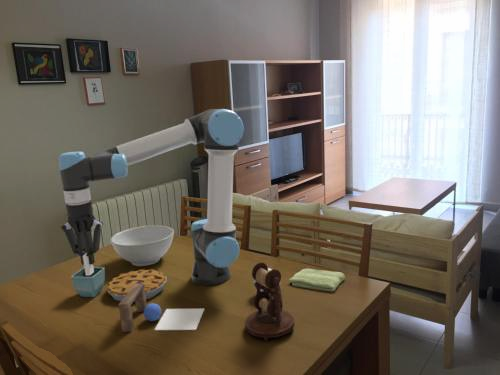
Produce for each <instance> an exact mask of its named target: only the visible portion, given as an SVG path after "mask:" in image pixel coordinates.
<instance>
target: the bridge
mask: <svg viewBox="0 0 500 375" xmlns="http://www.w3.org/2000/svg"><path fill="white" fill-rule="evenodd" d="M134 300H135V301H134ZM134 302H135V303H134ZM133 303H134V304H135V308H136V312H138V313H139V312H140V313H142V312H143V313H144V309H145V308H146V306H147V305H148V304H147V303H148V302H147V299H146V295H145V287H144V284H135V285H134V286H133V287H132V289H131V290H130V291H129V292H128V294H127V295H126V296H125V297H124V298H123V300H122V301H119V304H118V310H119V316H120V324H121V329H122V330H121V331H122V332H123V333H132V332H133V331H134V330H135V324H134V318H133V312H132V311H133V310H132V304H133Z"/></svg>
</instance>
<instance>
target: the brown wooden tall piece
mask: <svg viewBox="0 0 500 375" xmlns="http://www.w3.org/2000/svg"><path fill="white" fill-rule="evenodd" d="M268 268H269V267H268V265H267V264H266V263H265V262H258V263H256V264H255V265H254V266H253V268H252V271H251V276H252V278H253V279H254V280H256V282H255V286H254V288H255V290H256V289H257V290H256V295H255V296H254V298H253V306H254V307H255V308H256V309H257V310H256V311H253V312H252V313H250V314H249V315H248V316H247V317H246V318H245V320H244V328H245V330H246V331H247V333H249V334H250V335H252V336H255V337H258V338H263V340H264V342H267V341H268V339H271V338H279V337H281V336H284V335H287V334H288V333H290V332H291V331H293V330H294V326H295V318H294V317H293V315H292V314H291V313H290V312H287V311H286V310H283V307H284V306H283V305H284V304H283V298H282V297H283V296H282V289H281V285H280V284H279V283H280V281H282V280H281V279H282V274H281V271H280V270H278V269H276V268H273V269H272V270H270V271H268ZM253 279H252V280H253ZM260 289H261V290H263V291H260ZM269 294H270V295H269Z"/></svg>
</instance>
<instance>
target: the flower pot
mask: <svg viewBox="0 0 500 375" xmlns="http://www.w3.org/2000/svg"><path fill="white" fill-rule="evenodd" d="M93 268H94V272H93V273H92V274H91V275H86V274H85V268H84V267H82V268H80V269H79V270H78V271H76V273H74V274H73V275H71V281H72V284H73V287H74V289H75V291H76V292H77V293H78V294H79V295H80V296H81V297H83V298H94V297H96V296H97V295H98V294H99V293H101V292H102V290H103V287H104V285H105V279H106V276H105V275H106V274H105V273H106V272H105V268H106V267H96V266H93Z"/></svg>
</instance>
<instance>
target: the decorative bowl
mask: <svg viewBox="0 0 500 375" xmlns="http://www.w3.org/2000/svg"><path fill="white" fill-rule="evenodd" d="M174 232H175V231H174V229H173V228H172V227H169V226H167V225H166V226H165V225H157V224H156V225H154V224H153V225H142V226H137V227H131V228H128V229H124V230H122V231H119V232H117V233H115V234H114V235H113V236H112V237H111V238H110V242H111V243H110V244H111V246H112V247H113V249H114V250H115V252H116V253H117V254H118V255H119V256H120V257H121V258H122V259H123V260H125V261H127V262H129V263H131V264H132V265H133V266H136V267H145V266H150V265H151V266H152V265H154V264H156V263H158V262H159V261H160V260H161V258H162V257H163V256H164V255H165V254H166V253H167V252H168V251H169V249H170V247H171V245H172V242H173V240H174V234H175V233H174Z"/></svg>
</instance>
